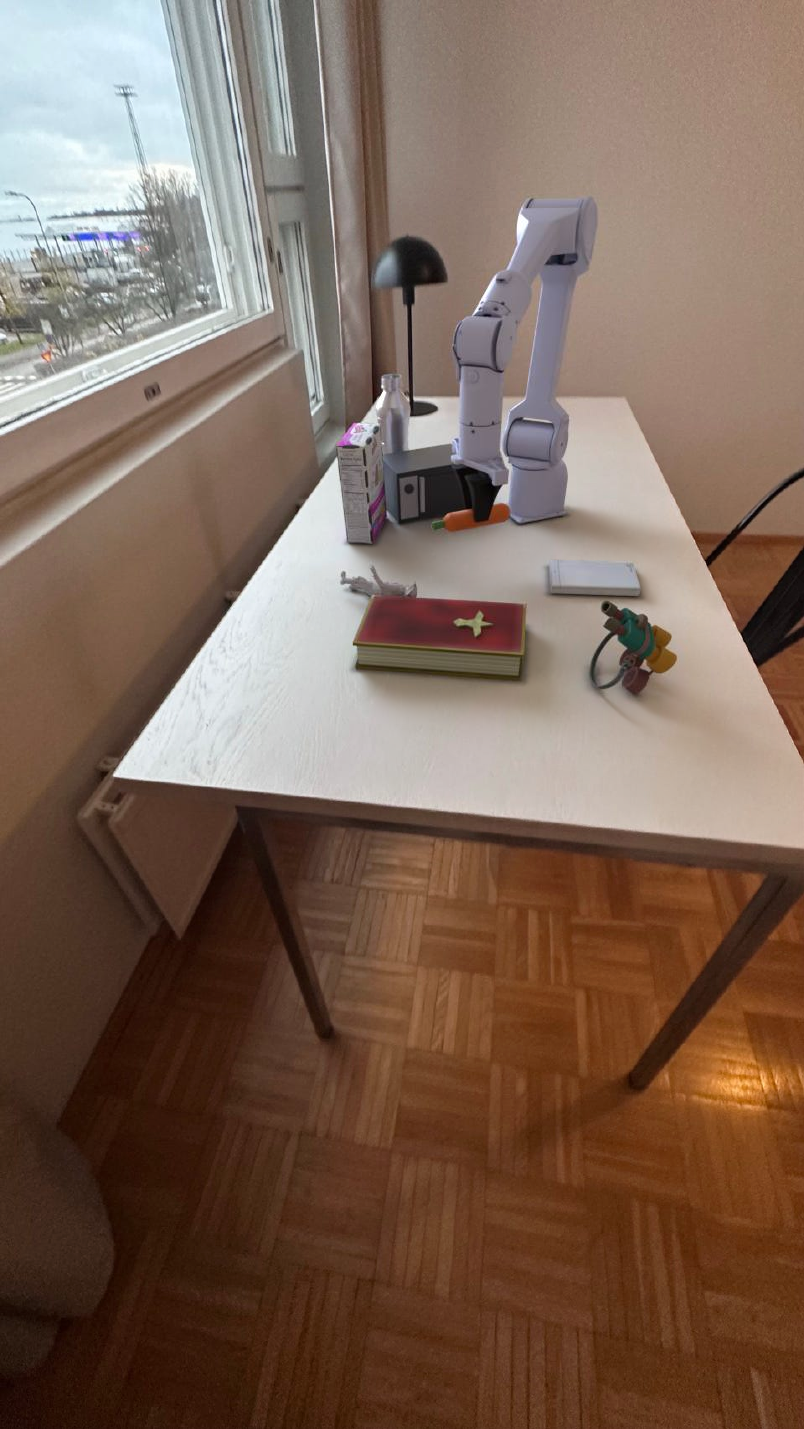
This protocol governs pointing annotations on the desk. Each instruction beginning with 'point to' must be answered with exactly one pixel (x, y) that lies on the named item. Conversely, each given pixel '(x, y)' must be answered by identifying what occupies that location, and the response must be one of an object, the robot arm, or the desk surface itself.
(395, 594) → the soldier figure
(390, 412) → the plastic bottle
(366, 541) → the candy bar box
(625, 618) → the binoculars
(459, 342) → the robot arm
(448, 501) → the mini oven
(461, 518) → the carrot
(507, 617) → the hardcover book
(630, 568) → the hard drive
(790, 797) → the desk surface
